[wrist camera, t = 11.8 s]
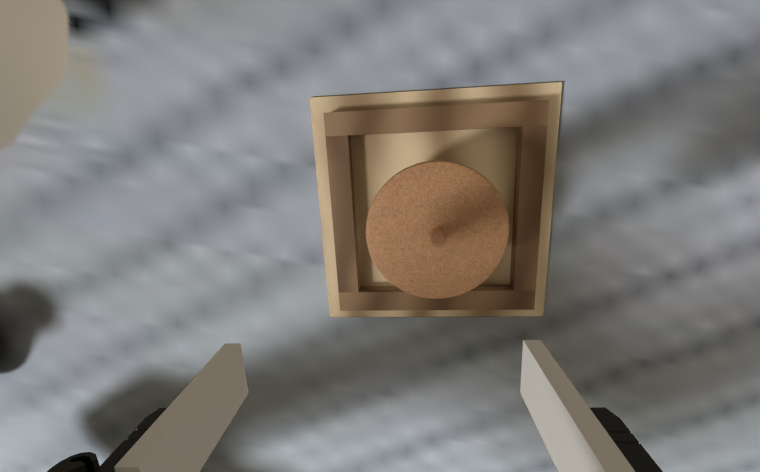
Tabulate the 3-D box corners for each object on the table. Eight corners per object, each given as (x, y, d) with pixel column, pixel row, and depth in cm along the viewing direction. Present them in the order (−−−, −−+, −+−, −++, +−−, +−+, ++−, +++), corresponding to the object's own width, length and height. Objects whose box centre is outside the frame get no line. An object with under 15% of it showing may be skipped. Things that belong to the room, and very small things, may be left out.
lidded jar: (361, 175, 33) (343, 187, 24) (473, 141, 32) (499, 141, 22) (392, 277, 36) (386, 323, 26) (498, 251, 34) (530, 290, 25)
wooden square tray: (330, 315, 38) (326, 324, 36) (310, 98, 32) (304, 95, 30) (542, 314, 36) (549, 323, 34) (560, 82, 30) (570, 78, 28)
